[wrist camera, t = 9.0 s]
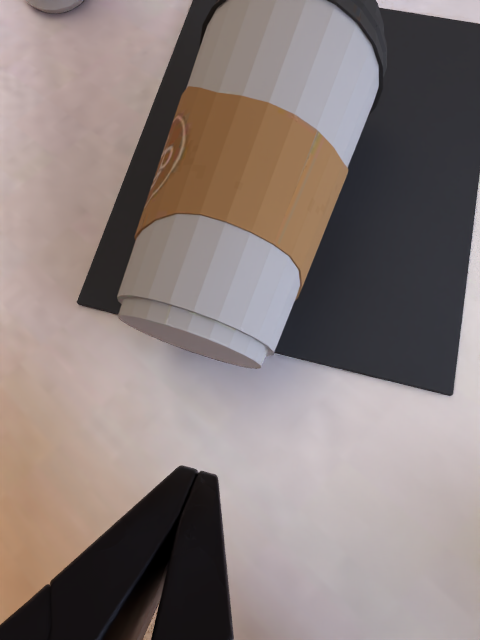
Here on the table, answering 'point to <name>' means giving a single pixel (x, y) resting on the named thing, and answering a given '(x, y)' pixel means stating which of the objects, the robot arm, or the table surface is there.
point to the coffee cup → (252, 172)
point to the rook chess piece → (54, 5)
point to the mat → (361, 211)
